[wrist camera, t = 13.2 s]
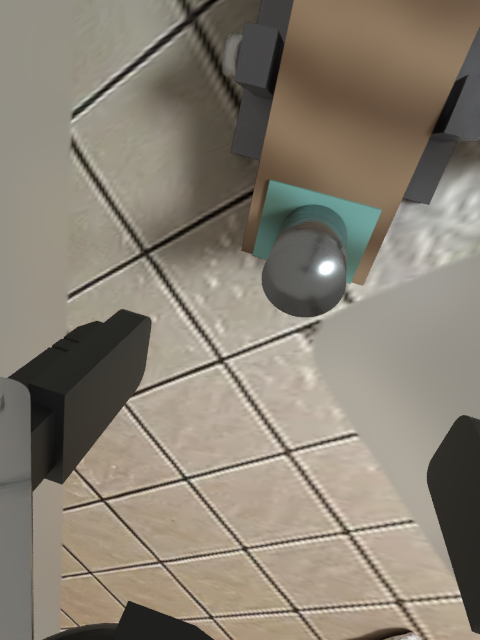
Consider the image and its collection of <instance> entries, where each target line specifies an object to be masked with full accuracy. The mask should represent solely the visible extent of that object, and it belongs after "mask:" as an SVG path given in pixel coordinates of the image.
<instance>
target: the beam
mask: <svg viewBox="0 0 480 640" xmlns="http://www.w3.org/2000/svg"><path fill="white" fill-rule="evenodd" d="M479 27H480V0H294V2H293V7H292V11H291V16H290V21H289V26H288V30H287V35H286V40H285V45H284V50H283V54H282V59H281V64H280V69H279V73H278V78H277V83H276V88H275V92H274V97H273V102H272V107H271V111H270V116H269V121H268V126H267V131H266V135H265V140H264V145H263V150H262V154H261V159H260V164H259V169H258V173H257V178H256V183H255V188H254V192H253V197H252V202H251V207H250V212H249V216H248V221H247V226H246V231H245V235H244V240H243V245H242V250H241V251H244V252H248V253H251V254H253V255H252V256H256V257H259V258H263V259H266V260H267V258H268V256H269V254H270V251H271V249H272V247H273V244H274V242H275V239H276V237H277V235H278V232H279V230H280V228H281V225H282V223H283V221H284V220H285V218H286V217H287V216H288V215H289V214H290V213H291V212H292V211H294V210H295V209H297V208H299V207H302V206H305V205H312V204H316V205H323V206H326V207H328V208H330V209H332V210H334V211H335V212H336V213H337V214H338V215H339V216H340V217H341V218H342V220H343V221H344V223H345V225H346V229H347V266H346V283H350V284H351V282H353V283H356V284H360V285H364V282H365V280H366V278H367V276H368V274H369V271H370V269H371V267H372V265H373V262H374V260H375V258H376V256H377V254H378V251H379V249H380V247H381V245H382V242H383V240H384V238H385V236H386V234H387V231H388V229H389V227H390V225H391V222H392V220H393V218H394V216H395V214H396V211H397V209H398V207H399V205H400V202H401V200H402V198H403V196H404V194H405V191H406V189H407V187H408V185H409V182H410V180H411V178H412V176H413V174H414V171H415V169H416V167H417V165H418V162H419V160H420V158H421V156H422V154H423V151H424V149H425V147H426V145H427V142H428V140H429V138H430V136H431V133H432V131H433V129H434V127H435V125H436V122H437V120H438V118H439V116H440V113H441V111H442V109H443V107H444V105H445V102H446V100H447V98H448V96H449V93H450V91H451V89H452V87H453V85H454V82H455V80H456V78H457V76H458V73H459V71H460V69H461V67H462V65H463V62H464V60H465V58H466V56H467V53H468V51H469V49H470V47H471V45H472V42H473V40H474V38H475V36H476V33H477V31H478V29H479Z"/></svg>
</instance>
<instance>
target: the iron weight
mask: <svg viewBox="0 0 480 640" xmlns="http://www.w3.org/2000/svg"><path fill="white" fill-rule="evenodd" d="M346 266H347V229H346V225H345V223H344V221H343V220H342V218H341V217H340V216H339V215H338V214H337V213H336V212H335V211H334V210H332V209H330V208H328V207H326V206H323V205H316V204H312V205H305V206H302V207H299V208H297V209H295V210H294V211H292V212H291V213H290V214H289V215H288V216H287V217H286V218H285V220H284V221H283V223H282V225H281V228H280V230H279V232H278V235H277V237H276V239H275V242H274V244H273V247H272V249H271V251H270V254H269V256H268V258H267V261H266V263H265V266H264V268H263V272H262V286H263V290H264V292H265V294H266V296H267V298H268V299H269V301H270V302H271V303H272V304H273V305H274V306H275V307H277V308H278V309H279V310H281V311H282V312H285V313H287V314H289V315H292V316H296V317H314V316H318V315H321V314H324V313H326V312H328V311H329V310H331V309H332V308H333V307H335V306H336V305H337V304H338V303H339V301H340V300H341V298H342V296H343V294H344V291H345V287H346Z"/></svg>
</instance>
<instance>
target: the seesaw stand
mask: <svg viewBox="0 0 480 640" xmlns="http://www.w3.org/2000/svg"><path fill="white" fill-rule="evenodd" d="M293 2H294V0H262V1H261V6H260V11H259V16H258V21H257V24H253V23H249V22H245V27H244V32H243V35H242V34H238V33H234V32H230V33H229V35H228V37H227V40H226V43H225V47H224V53H223V64H222V68H223V74H224V76H227V77H231V78H235V80H234V81H236V82H237V83H238V84H240V85H241V86H242V87H244V90H243V95H242V100H241V105H240V110H239V115H238V120H237V125H236V130H235V135H234V140H233V145H232V150H231V153H235V154H239V155H243V156H246V157H250V158H254V159H258V160H260V159H261V154H262V150H263V145H264V140H265V135H266V131H267V126H268V121H269V116H270V111H271V107H272V102H273V97H274V92H275V88H276V83H277V78H278V73H279V69H280V64H281V59H282V54H283V50H284V45H285V40H286V35H287V30H288V26H289V21H290V16H291V11H292V7H293ZM479 139H480V27H479V29H478V31H477V33H476V36H475V38H474V40H473V42H472V45H471V47H470V49H469V51H468V53H467V56H466V58H465V60H464V62H463V65H462V67H461V69H460V71H459V73H458V76H457V78H456V80H455V82H454V85H453V87H452V89H451V91H450V93H449V96H448V98H447V100H446V102H445V105H444V107H443V109H442V111H441V113H440V116H439V118H438V120H437V122H436V125H435V127H434V129H433V131H432V133H431V136H430V138H429V140H428V142H427V145H426V147H425V149H424V151H423V154H422V156H421V158H420V160H419V162H418V165H417V167H416V169H415V171H414V174H413V176H412V178H411V180H410V182H409V185H408V187H407V189H406V191H405V194H404V196H403V198H405V199H409V200H413V201H416V202H420V203H424V204H428V205H429V204H430V202H431V199H432V197H433V195H434V193H435V190H436V188H437V186H438V183H439V181H440V179H441V177H442V174H443V172H444V170H445V168H446V165H447V163H448V161H449V158H450V156H451V154H452V152H453V149H454V147H455V145H456V143H457V142H469V141H479Z"/></svg>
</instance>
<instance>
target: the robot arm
mask: <svg viewBox="0 0 480 640" xmlns="http://www.w3.org/2000/svg"><path fill="white" fill-rule="evenodd" d="M150 332H151V319H150V317H147V316H144V315H141V314H137V313H134V312H131V311H128V310H124V309H121V310H119V311H118V312H117V313H116V314H114V315H113V316H112V317H111V318H109V319H108V320H107V321H105V322H104V323H103V322H99V321H95V322H91V323H88V324H85V325H82V326H79V327H77V328H76V329H74V330H73V331H71V332H70V333H69V334H67V335H66V336H65V337H64V339H60V340H59V341H58V342H56V343H55V344H53V345H52V348H50V347H49V348H48V349H47V350H45V351H44V352H42V353H41V354H40V355H38V356H37V357H36V358H34V359H33V360H31V361H30V362H29V363H27V364H26V365H25V366H23V367H22V368H20V369H19V370H18V371H16V372H15V373H14V374H12V375H11V376H9V377H8V378H1V377H0V640H34V598H33V597H34V596H33V595H34V594H33V496H32V494H33V493H32V492H33V491H34V490H35V489H36V488H37V486H38V485H39V484H40V483H41V482H42V481H43V479H44V478H45V479H48V480H51V481H54V482H57V483H59V484H63V483H64V482H65V480H66V479H67V478H68V477H69V475H70V474H71V473H72V471H73V470H74V469H75V468H76V466H77V465H78V464H79V462H80V461H81V460H82V459H83V457H84V456H85V455H86V453H87V452H88V451H89V450H90V448H91V447H92V446H93V445H94V443H95V442H96V441H97V439H98V438H99V437H100V436H101V434H102V433H103V432H104V430H105V429H106V428H107V427H108V425H109V424H110V423H111V421H112V420H113V419H114V418H115V416H116V415H117V414H118V412H119V411H120V410H121V409H122V407H123V406H124V405H125V403H126V402H127V401H128V400H129V398H130V397H131V396H132V395H133V393H134V392H135V391H136V389H137V388H138V386H139V384H140V382H141V380H142V377H143V375H144V371H145V367H146V360H147V353H148V346H149V339H150ZM427 484H428V488H429V491H430V494H431V497H432V501H433V504H434V508H435V511H436V514H437V517H438V521H439V524H440V527H441V531H442V534H443V537H444V540H445V544H446V547H447V551H448V554H449V557H450V560H451V564H452V567H453V570H454V574H455V577H456V580H457V584H458V587H459V590H460V593H461V597H462V600H463V603H464V607H465V610H466V613H467V617H468V620H469V623H470V626H471V630H472V631H473V632H475V633H478V634H480V420H479V419H476V418H473V417H469V416H466V415H462V416H460V417H459V418H458V419H457V420H456V421H455V422H454V424H453V425H452V427H451V428H450V430H449V432H448V434H447V435H446V436H445V438H444V440H443V441H442V443H441V444H440V446H439V448H438V449H437V451H436V452H435V454H434V456H433V457H432V459H431V461H430V463H429V466H428V471H427ZM43 640H214V639H213V638H211V637H210V636H209V635H207V634H206V633H205V632H203V631H202V630H201V629H199V628H198V627H197V626H195V625H192V624H189V623H187V622H184V621H181V620H179V619H176V618H173V617H171V616H168V615H165V614H163V613H160V612H157V611H155V610H152V609H149V608H147V607H144V606H141V605H139V604H136V603H133V602H131V601H128V603H127V605H126V608H125V610H124V612H123V614H122V617H121V619H120V621H119V623H100V624H91V625H85V626H81V627H76V628H72V629H68V630H65V631H63V632H60V633H58V634H55V635H52V636H50V637H47V638H45V639H43Z"/></svg>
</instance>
